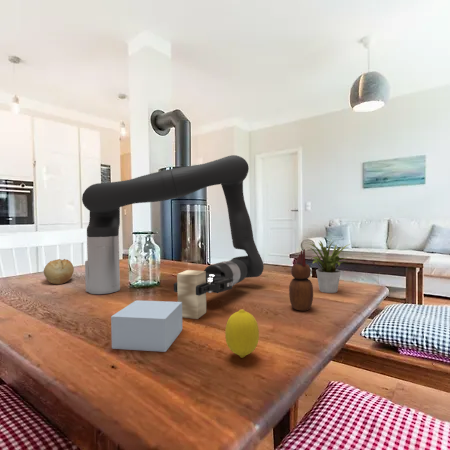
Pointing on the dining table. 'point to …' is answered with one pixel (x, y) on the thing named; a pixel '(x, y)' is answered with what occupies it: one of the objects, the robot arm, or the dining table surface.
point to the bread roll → (58, 271)
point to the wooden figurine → (301, 285)
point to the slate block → (146, 325)
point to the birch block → (191, 293)
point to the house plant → (328, 268)
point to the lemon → (242, 333)
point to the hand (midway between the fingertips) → (186, 289)
